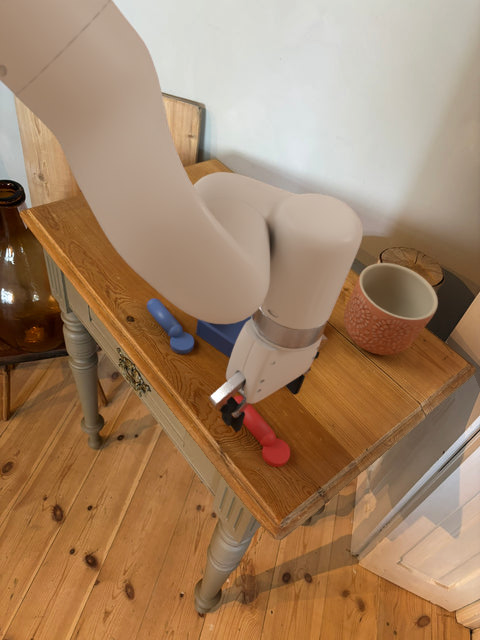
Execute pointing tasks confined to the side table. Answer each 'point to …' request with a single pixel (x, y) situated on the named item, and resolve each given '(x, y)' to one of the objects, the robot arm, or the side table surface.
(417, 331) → the planter
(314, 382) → the side table surface
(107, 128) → the robot arm
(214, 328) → the blue bin
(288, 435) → the side table surface
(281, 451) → the red spoon
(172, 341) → the blue spoon
